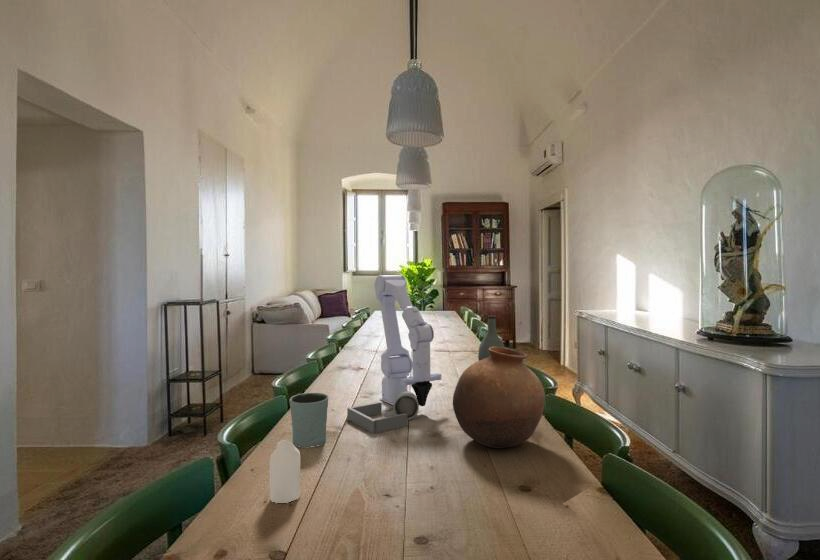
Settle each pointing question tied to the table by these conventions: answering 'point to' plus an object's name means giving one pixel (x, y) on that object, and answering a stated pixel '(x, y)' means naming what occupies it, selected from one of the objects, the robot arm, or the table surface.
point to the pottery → (499, 399)
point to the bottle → (489, 339)
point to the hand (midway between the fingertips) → (421, 405)
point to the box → (378, 425)
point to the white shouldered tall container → (285, 473)
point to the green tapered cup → (309, 418)
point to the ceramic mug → (404, 405)
